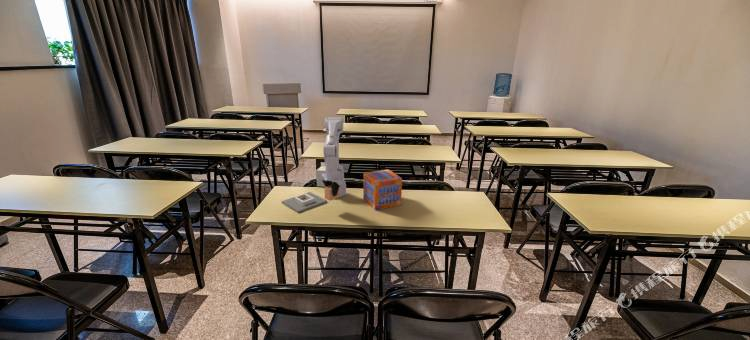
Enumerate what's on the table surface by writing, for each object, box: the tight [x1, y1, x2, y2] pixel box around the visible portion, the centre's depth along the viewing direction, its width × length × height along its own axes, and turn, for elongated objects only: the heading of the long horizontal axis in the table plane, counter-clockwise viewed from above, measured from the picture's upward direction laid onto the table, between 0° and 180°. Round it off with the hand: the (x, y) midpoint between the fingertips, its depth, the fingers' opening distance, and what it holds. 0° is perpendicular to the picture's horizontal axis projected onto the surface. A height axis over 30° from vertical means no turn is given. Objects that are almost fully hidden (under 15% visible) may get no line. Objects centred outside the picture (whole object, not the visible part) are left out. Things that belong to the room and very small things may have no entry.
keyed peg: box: [324, 186, 340, 201], centre depth 153 cm, size 6×4×6 cm, turn 136°
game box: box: [362, 169, 403, 211], centre depth 165 cm, size 16×16×16 cm
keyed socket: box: [281, 191, 328, 214], centre depth 164 cm, size 18×16×3 cm
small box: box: [316, 165, 325, 188], centre depth 188 cm, size 8×6×10 cm
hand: (332, 194), depth 153 cm, fingers closed on keyed peg, 4 cm apart
